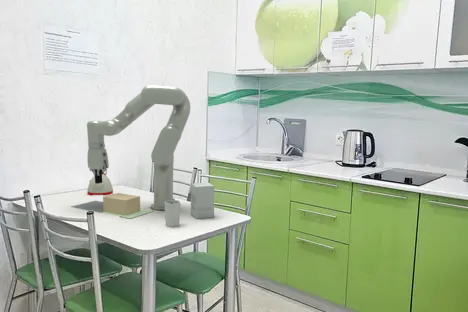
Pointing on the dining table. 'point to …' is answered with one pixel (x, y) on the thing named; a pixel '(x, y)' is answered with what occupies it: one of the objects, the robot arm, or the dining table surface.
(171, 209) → the drinking glass
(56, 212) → the dining table surface
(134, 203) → the kraft carton
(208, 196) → the supplement box
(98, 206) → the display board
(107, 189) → the grey domed piece
